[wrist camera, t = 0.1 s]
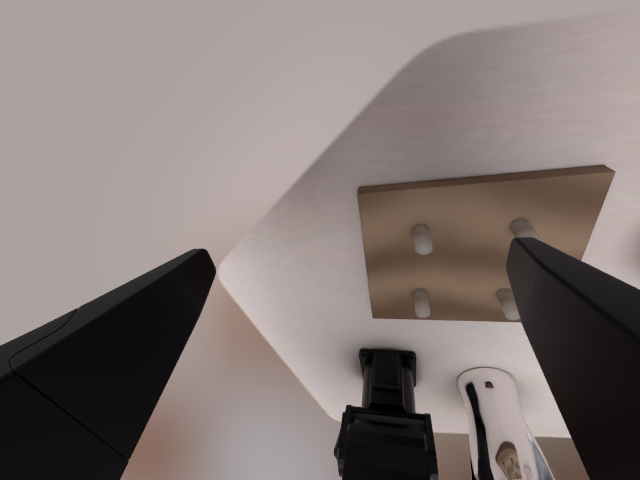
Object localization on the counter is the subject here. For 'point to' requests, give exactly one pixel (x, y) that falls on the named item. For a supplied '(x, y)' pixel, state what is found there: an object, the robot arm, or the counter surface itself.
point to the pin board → (469, 238)
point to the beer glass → (499, 429)
